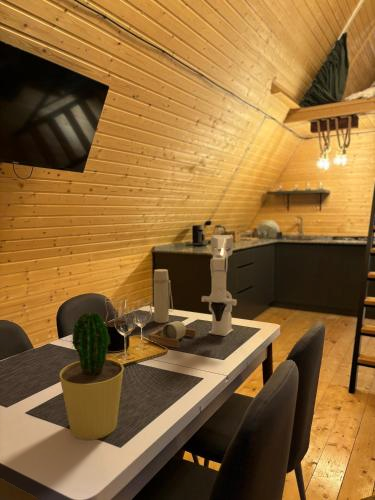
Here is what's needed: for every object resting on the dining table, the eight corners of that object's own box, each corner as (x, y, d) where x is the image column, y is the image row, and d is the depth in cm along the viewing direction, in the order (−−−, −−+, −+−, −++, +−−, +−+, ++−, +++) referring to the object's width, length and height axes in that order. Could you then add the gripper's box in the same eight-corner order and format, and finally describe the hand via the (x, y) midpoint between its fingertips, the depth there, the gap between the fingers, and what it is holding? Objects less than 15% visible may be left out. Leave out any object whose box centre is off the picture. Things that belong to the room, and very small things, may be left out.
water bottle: (152, 323, 183) (151, 271, 180) (156, 318, 190) (155, 268, 188) (171, 324, 181) (170, 271, 178) (174, 319, 189) (173, 269, 186)
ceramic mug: (187, 338, 162) (187, 320, 161) (177, 344, 155) (176, 325, 154) (166, 334, 168) (166, 317, 167) (155, 339, 161) (155, 321, 160)
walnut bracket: (167, 331, 171) (167, 325, 170) (195, 336, 164) (195, 329, 164) (148, 342, 158) (148, 334, 157) (177, 347, 151) (177, 340, 150)
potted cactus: (132, 412, 103) (130, 303, 100) (112, 448, 88) (108, 320, 85) (78, 408, 106) (74, 301, 102) (50, 441, 91) (44, 317, 87)
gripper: (198, 287, 153) (198, 320, 154) (231, 291, 146) (231, 326, 147) (205, 284, 159) (205, 316, 161) (238, 287, 152) (238, 321, 154)
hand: (218, 320), depth 154 cm, fingers closed
